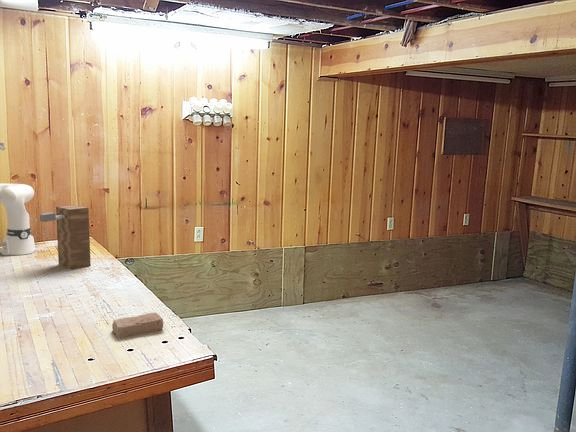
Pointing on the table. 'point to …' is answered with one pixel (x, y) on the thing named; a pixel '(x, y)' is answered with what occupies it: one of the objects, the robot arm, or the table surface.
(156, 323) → the brick
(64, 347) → the table surface
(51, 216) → the grey stepped bar
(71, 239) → the post
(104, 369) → the table surface
